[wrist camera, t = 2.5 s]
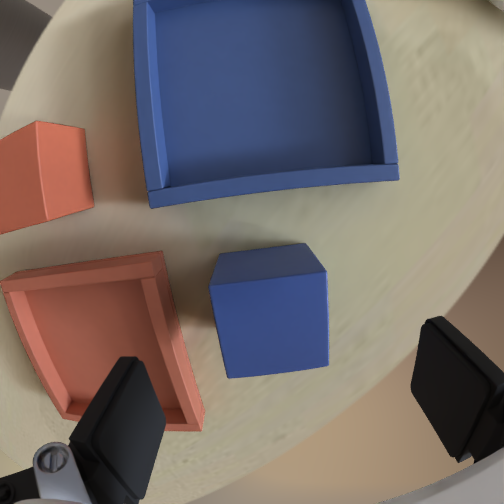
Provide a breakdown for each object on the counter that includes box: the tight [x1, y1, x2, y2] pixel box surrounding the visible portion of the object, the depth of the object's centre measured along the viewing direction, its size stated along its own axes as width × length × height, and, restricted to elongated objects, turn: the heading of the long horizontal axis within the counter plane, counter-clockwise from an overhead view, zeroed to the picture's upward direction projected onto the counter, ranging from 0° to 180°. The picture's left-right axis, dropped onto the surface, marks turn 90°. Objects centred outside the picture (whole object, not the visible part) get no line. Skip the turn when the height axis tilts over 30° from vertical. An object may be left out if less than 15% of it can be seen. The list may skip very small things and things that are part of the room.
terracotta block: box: [0, 121, 94, 235], centre depth 12 cm, size 4×4×4 cm
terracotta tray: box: [0, 251, 205, 431], centre depth 16 cm, size 12×12×2 cm
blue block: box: [208, 243, 329, 378], centre depth 14 cm, size 4×4×4 cm
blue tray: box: [133, 0, 400, 209], centre depth 12 cm, size 12×12×2 cm
